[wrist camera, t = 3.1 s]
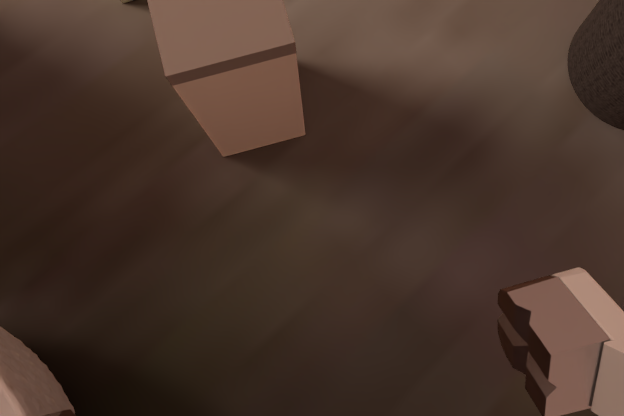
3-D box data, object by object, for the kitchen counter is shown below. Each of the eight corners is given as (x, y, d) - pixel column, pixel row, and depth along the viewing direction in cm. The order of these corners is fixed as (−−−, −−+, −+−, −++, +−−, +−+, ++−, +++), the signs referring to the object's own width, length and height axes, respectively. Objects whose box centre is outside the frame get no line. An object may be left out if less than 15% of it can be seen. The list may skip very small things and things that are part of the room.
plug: (223, 157, 24) (165, 76, 15) (204, 79, 25) (137, -41, 16) (305, 135, 24) (294, 42, 16) (284, 58, 25) (262, -73, 16)
